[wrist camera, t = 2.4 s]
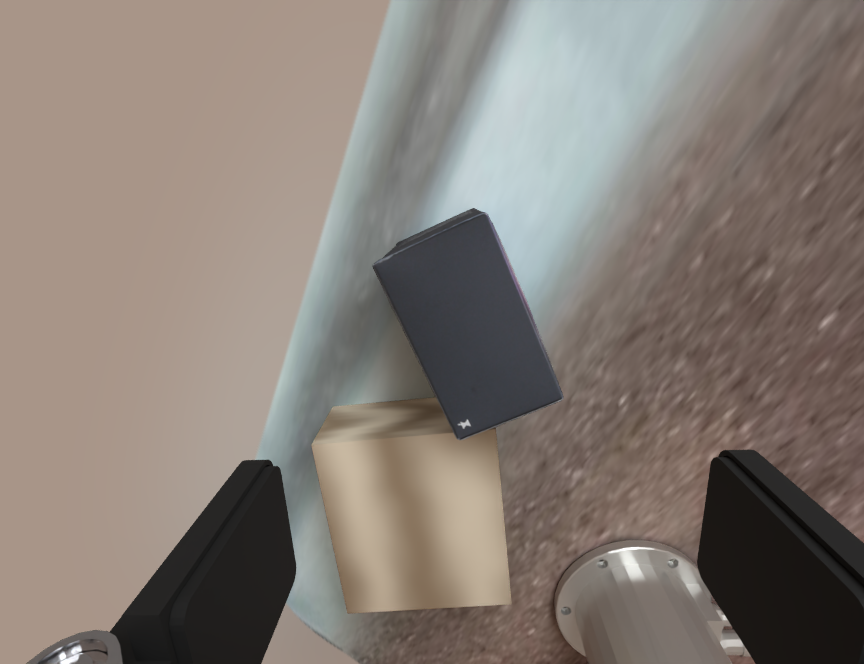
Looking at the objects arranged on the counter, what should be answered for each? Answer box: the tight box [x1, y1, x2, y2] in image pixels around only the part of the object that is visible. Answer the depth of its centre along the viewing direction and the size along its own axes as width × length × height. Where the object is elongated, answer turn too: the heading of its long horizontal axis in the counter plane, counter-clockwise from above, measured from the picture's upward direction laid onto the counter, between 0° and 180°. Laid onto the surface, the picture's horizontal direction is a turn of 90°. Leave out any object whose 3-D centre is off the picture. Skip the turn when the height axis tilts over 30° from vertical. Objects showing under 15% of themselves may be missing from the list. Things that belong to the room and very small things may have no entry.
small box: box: [373, 208, 563, 441], centre depth 28 cm, size 11×6×10 cm, turn 25°
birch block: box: [312, 397, 511, 614], centre depth 35 cm, size 12×14×6 cm
